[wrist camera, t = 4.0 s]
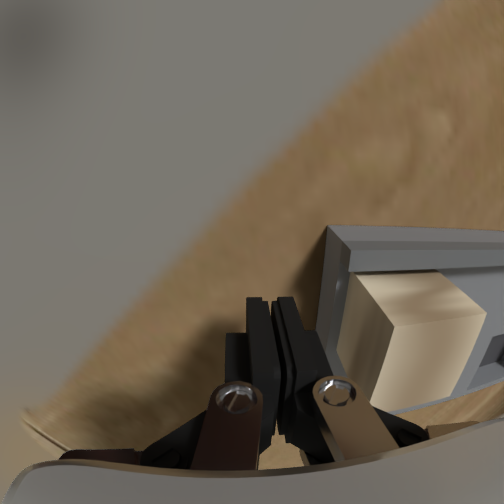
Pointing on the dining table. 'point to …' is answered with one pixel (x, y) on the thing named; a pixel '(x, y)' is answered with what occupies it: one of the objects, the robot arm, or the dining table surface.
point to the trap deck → (415, 258)
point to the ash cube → (406, 336)
